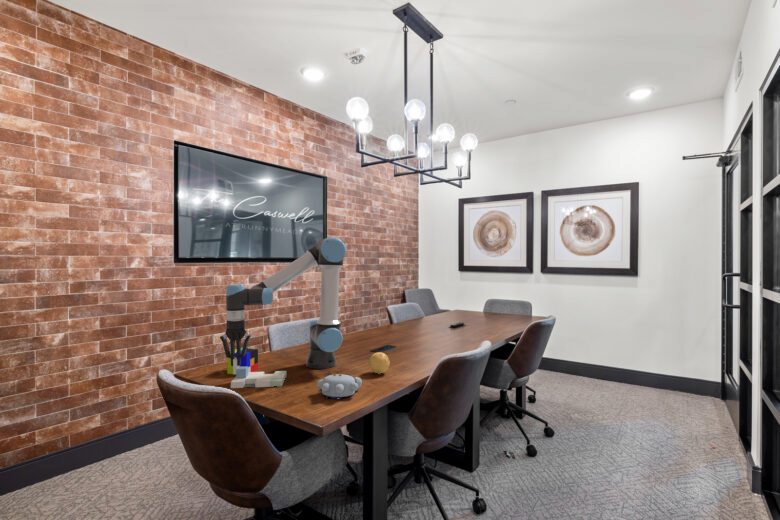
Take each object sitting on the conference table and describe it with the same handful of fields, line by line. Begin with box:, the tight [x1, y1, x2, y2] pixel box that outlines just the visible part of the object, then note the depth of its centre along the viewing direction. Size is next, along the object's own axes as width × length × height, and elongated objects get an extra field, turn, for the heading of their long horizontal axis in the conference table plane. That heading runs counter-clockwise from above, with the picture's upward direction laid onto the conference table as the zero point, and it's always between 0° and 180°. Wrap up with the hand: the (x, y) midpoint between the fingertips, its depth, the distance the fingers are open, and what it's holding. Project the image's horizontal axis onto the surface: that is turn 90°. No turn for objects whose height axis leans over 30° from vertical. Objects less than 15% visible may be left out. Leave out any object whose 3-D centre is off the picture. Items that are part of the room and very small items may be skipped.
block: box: [235, 366, 248, 379], centre depth 171 cm, size 4×4×4 cm
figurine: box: [316, 373, 363, 400], centre depth 158 cm, size 17×8×20 cm
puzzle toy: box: [226, 347, 259, 375], centre depth 188 cm, size 10×10×10 cm
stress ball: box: [368, 351, 391, 375], centre depth 184 cm, size 10×10×10 cm
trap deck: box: [230, 370, 288, 389], centre depth 172 cm, size 21×14×2 cm, turn 97°
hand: (235, 373), depth 171 cm, fingers closed
